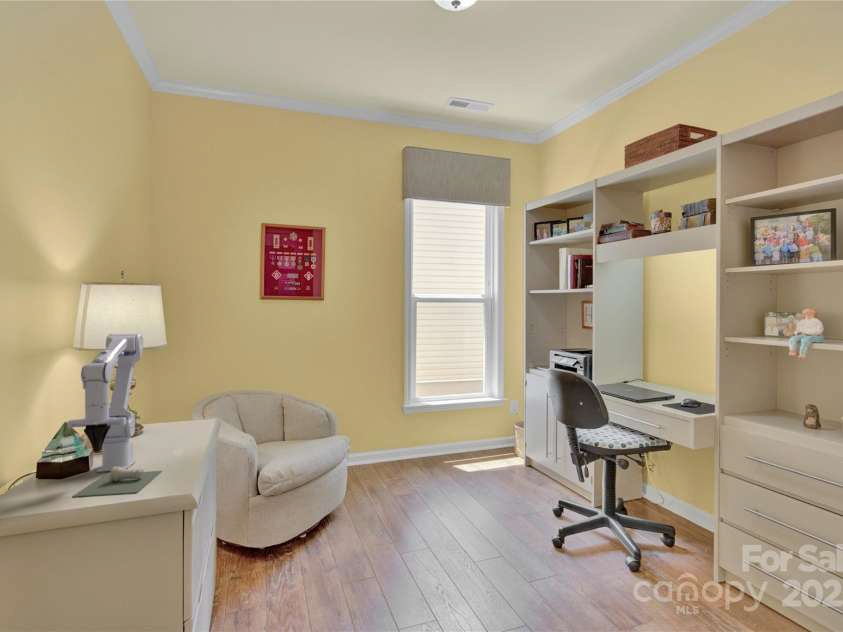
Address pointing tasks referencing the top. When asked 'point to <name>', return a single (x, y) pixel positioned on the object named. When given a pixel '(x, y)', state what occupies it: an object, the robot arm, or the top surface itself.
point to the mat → (116, 485)
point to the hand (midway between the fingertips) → (97, 450)
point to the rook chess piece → (125, 474)
